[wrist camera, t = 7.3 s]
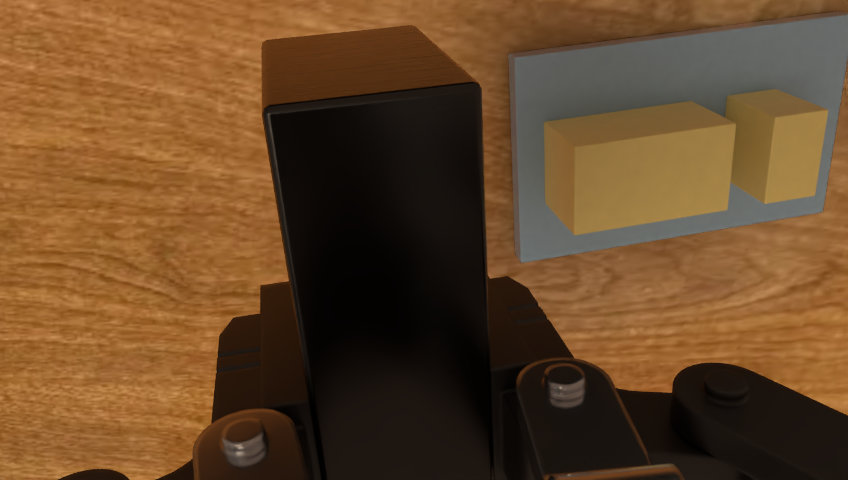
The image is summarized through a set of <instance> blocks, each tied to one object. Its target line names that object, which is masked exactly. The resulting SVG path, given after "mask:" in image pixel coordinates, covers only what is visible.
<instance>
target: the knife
mask: <svg viewBox="0 0 848 480" xmlns="http://www.w3.org/2000/svg"><path fill="white" fill-rule="evenodd" d="M262 118H263V124H264V130H265V137H266V143H267V149H268V155H269V161H270V167H271V173H272V179H273V186H274V192H275V198H276V204H277V210H278V216H279V222H280V229H281V235H282V241H283V247H284V253H285V259H286V265H287V272H288V278H289V284H290V290H291V296H292V302H293V308H294V314H295V321H296V327H297V333H298V339H299V345H300V351H301V357H302V364H303V370H304V376H305V382H306V388H307V394H308V400H309V407H310V413H311V419H312V425H313V431H314V437H315V443H316V450H317V456H318V462H319V468H320V474H321V480H494V456H493V426H492V395H491V362H490V332H489V302H488V271H487V241H486V210H485V180H484V150H483V119H482V89H481V87H480V85H479V83H478V82H477V81H476V80H475V79H474V78H472V77H471V76H470V75H469V74H468V73H467V72H466V71H465V70H463V69H462V68H461V67H460V66H459V65H458V64H457V63H456V62H455V61H453V60H452V59H451V58H450V57H449V56H448V55H447V54H446V53H445V52H443V51H442V50H441V49H440V48H439V47H438V46H437V45H436V44H434V43H433V42H432V41H431V40H430V39H429V38H428V37H427V36H426V35H424V34H423V33H422V32H421V31H420V30H419V29H418V28H417V27H415V26H412V25H410V26H400V27H390V28H380V29H370V30H361V31H351V32H341V33H331V34H321V35H311V36H302V37H292V38H282V39H272V40H266V41H264V42H263V43H262Z"/></svg>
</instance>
